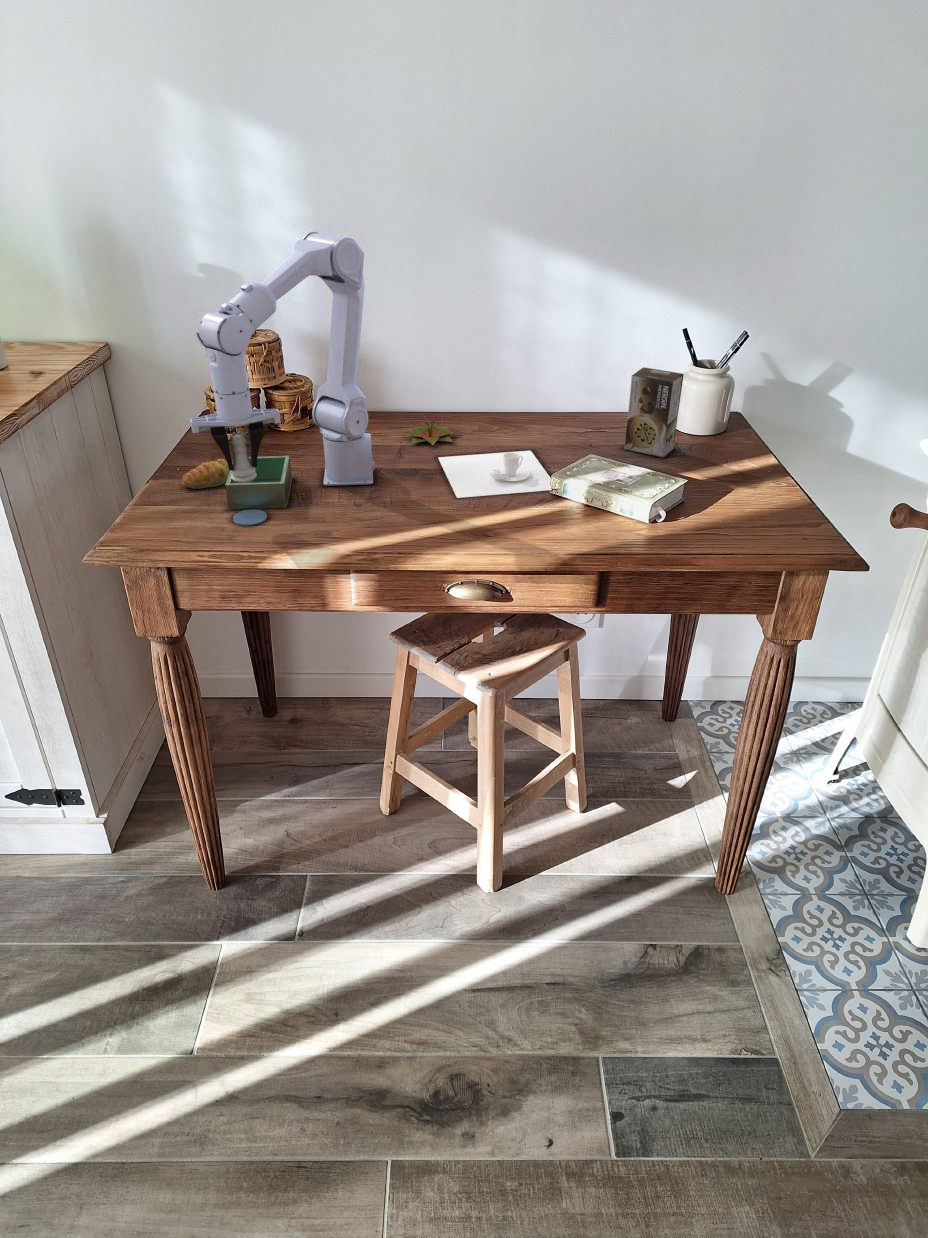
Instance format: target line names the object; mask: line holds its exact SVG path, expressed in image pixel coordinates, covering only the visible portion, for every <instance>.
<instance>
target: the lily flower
mask: <svg viewBox="0 0 928 1238" xmlns="http://www.w3.org/2000/svg"><path fill="white" fill-rule="evenodd" d="M423 418H424V419H425V420H426V421H425V420H423V419H422V418H419V420H420V421H421V424H420V426H421V427H411V428H410V427H408V428H407V429H408V430H409V432H408V433H406V435H403V437H411V436H412V437H413V438H411V444H416V443H421V442H428V443H429V444H431V446H434V445H435V444H436V442H438V441H439V442H440V441H441V442H442V441H443V442H449V443H452V442H453V440H452V439H451V438H452V437H450V436H448V435H456V433H454V432H453V431H451V430H449V428H448V426H438V425H440V424H441V422H439V420H438V417H435V416H433V417H432V418H431V421H430V420H428V419H427V418H426V416H423ZM437 422H438V423H437ZM436 423H437V424H436ZM435 424H436V425H435Z"/></svg>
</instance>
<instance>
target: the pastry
mask: <svg viewBox="0 0 928 1238" xmlns="http://www.w3.org/2000/svg"><path fill="white" fill-rule="evenodd" d="M229 473H230V470H229V468H228V464H227V461H226V459H225V458H223V459H222V458H217V460H214V461H207V462H202V463H200V464H199V465H198V466H196V467H195V468H191V469H189V471H187V472H186V473H184V474H183V475H182V478H181V484H182V486H184V487H187V488H190V489H194V490H196V489H198V490H200V489H208V488H214V487H219V486H221V485H226V482H227V479H228V476H229Z"/></svg>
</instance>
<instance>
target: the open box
mask: <svg viewBox="0 0 928 1238" xmlns="http://www.w3.org/2000/svg"><path fill="white" fill-rule="evenodd" d="M249 459H250V462H251V458H250V456H249ZM255 469H256V471H255V473H256V474H257V476H256V478H255V479H254V480H253V481H250V482H246V483H238V482H235V481H234V480H232V478H231V475H232V474H231V473H229V476H228V479H227V482H226V484H224V485H225V491H226V499H227V504H228V510H231V511H233V510H235V511H236V510H251V509H255V510H261V509H262V510H263V509H286V508H288V504H289V498H290V494H291V487H292V482H293V475H292V466H291V457H290V455H274V456H273V455H270V456H258V458H257V467H255ZM230 472H231V471H230Z"/></svg>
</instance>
